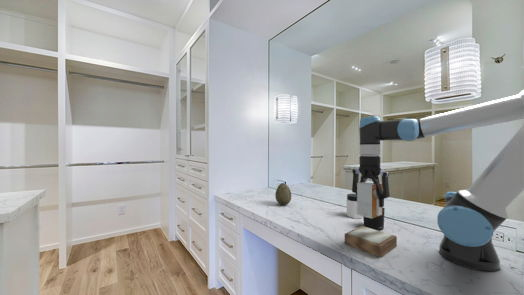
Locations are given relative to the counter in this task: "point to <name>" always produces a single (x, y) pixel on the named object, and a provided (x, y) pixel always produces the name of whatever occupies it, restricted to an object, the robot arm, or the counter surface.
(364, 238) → the plinth
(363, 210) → the small box
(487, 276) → the counter surface
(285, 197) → the decorative egg
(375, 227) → the pen holder
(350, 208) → the jar
